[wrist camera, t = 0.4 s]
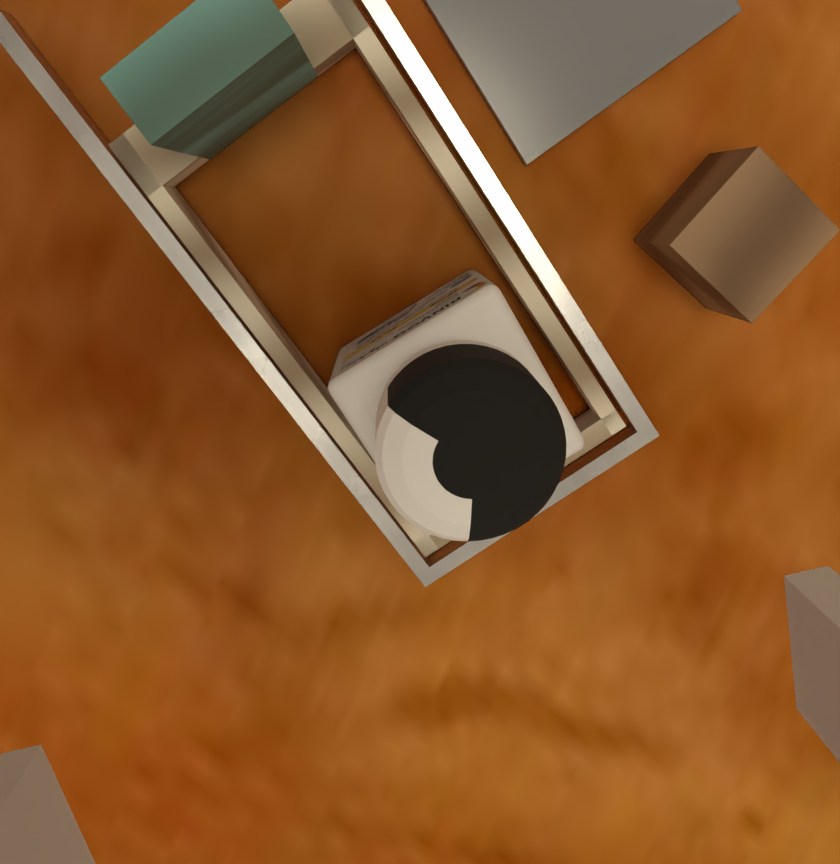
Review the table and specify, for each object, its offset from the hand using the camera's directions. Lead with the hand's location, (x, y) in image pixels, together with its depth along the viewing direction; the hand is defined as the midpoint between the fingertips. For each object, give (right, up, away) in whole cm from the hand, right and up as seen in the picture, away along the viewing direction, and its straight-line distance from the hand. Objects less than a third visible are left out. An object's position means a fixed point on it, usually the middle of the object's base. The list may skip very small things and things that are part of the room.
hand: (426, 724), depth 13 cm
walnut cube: (+13, +15, +23) cm, 30 cm away
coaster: (+6, +25, +20) cm, 32 cm away
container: (+1, +8, +25) cm, 26 cm away
